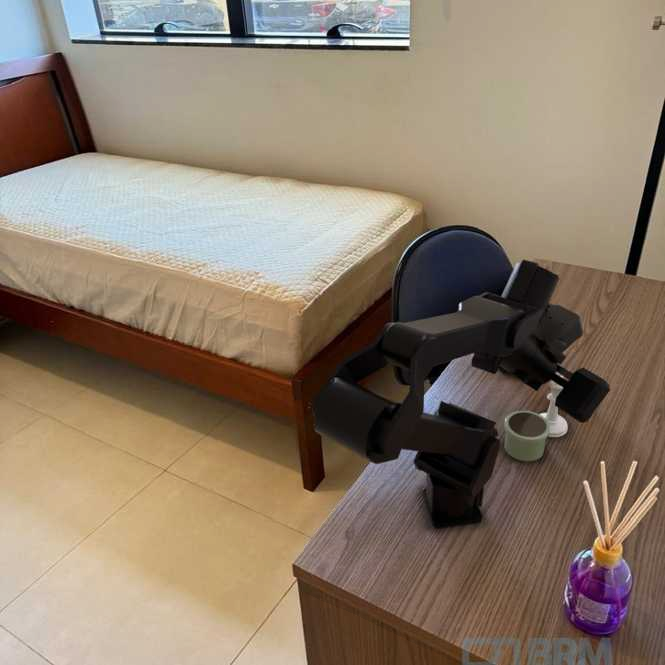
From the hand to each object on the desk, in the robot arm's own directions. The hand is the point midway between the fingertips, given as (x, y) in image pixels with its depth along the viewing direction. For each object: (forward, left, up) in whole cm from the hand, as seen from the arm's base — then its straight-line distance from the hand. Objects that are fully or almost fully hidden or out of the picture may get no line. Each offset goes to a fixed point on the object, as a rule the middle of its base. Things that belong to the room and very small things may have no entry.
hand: (563, 387), depth 90 cm
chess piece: (-1, -1, -7) cm, 7 cm away
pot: (-7, -4, -7) cm, 11 cm away
